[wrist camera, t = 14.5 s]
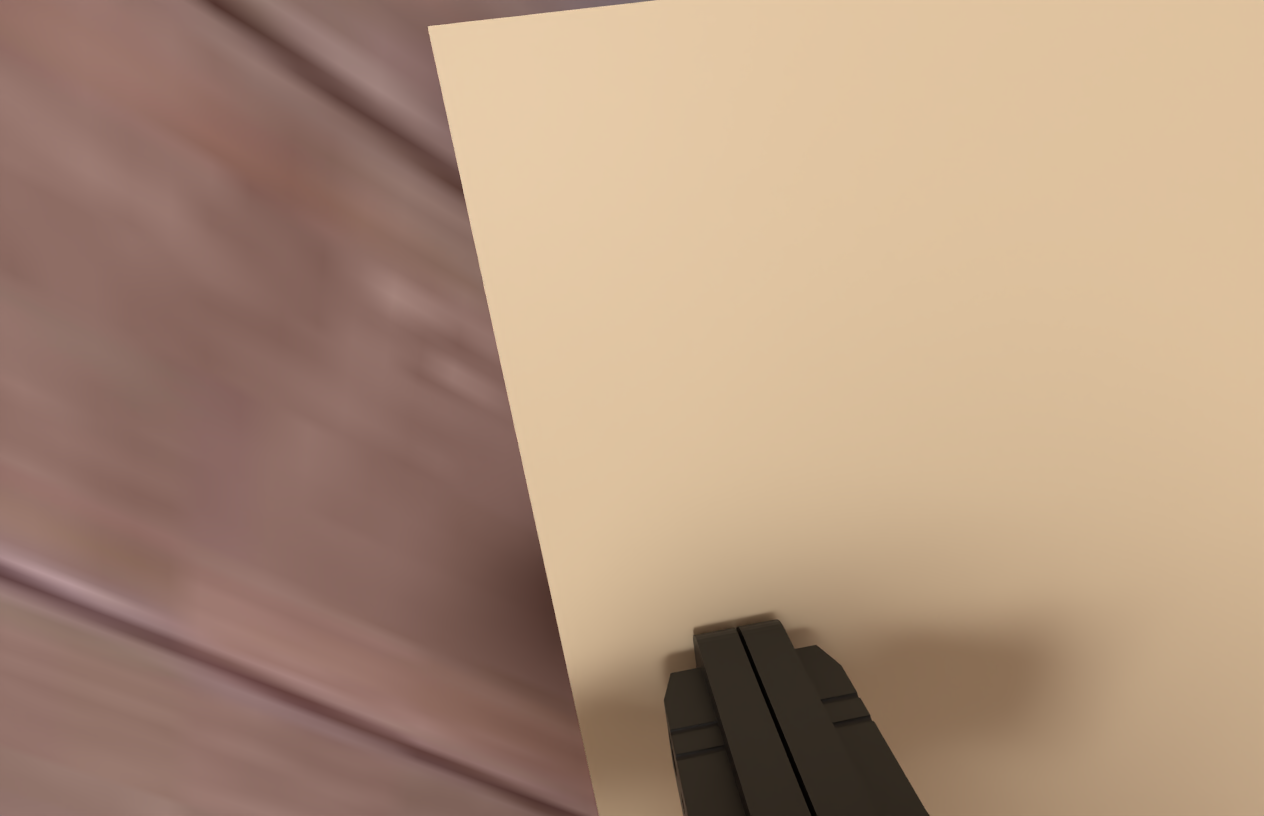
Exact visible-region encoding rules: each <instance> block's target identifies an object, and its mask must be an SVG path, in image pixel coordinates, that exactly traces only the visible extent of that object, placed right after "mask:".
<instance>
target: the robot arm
mask: <svg viewBox="0 0 1264 816" xmlns="http://www.w3.org/2000/svg"><path fill="white" fill-rule="evenodd" d="M693 643H694V652H695V661H696V668H694V669H689V670H684V671H679V672H674V673H671V674H670V678H669V682H668V686H667V689H666V693H665V697H664V706H665V713H666V720H667V727H668V734H669V741H670V748H671V755H672V762H673V768H674V773H675V778H676V782H677V787H678V792H679V797H680V802H681V807H682V812H683V816H930V815H929V814H928V812H927V811H926V809H925V808H924V806H923V804H922V802H921V801H920V799H919V797H918V796H917V794H916V792H915V790H914V789H913V787H912V785H911V784H910V782H909V780H908V778H907V777H906V775H905V773H904V772H903V770H902V768H901V766H900V765H899V763H898V761H897V760H896V758H895V756H894V754H893V753H892V751H891V749H890V748H889V746H888V744H887V742H886V741H885V739H884V737H883V736H882V734H881V732H880V730H879V729H878V727H877V725H876V724H875V722H874V721H872V719H871V716H870V713H869V712H868V710H867V708H866V707H865V705H864V703H863V701H862V700H861V698H859V697H858V694H857V691H856V689H855V688H854V686H853V684H852V683H851V681H850V679H849V677H848V676H847V674H846V672H845V671H844V669H843V667H842V665H840V664H839V663H838V662H837V661H836V660H834V659H833V658H832V657H831V656H829V655H828V654H827V653H826V652H825V651H823V650H822V649H821V648H820V647H818V646H817V645H812V646H807V647H802V648H796V649H795V648H794V646H793V644H792V642H791V640H790V638H789V636H788V634H787V632H786V630H785V629H784V627H783V625H782V623H781V622H780V621H779V620H778V619H775V620H770V621H764V622H759V623H754V624H749V625H743V626H738V627H737V628H736V629H735V628H729V629H723V630H718V631H713V632H708V633H702V634H697V635H693Z"/></svg>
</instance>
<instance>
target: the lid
mask: <svg viewBox="0 0 1264 816" xmlns="http://www.w3.org/2000/svg"><path fill="white" fill-rule="evenodd" d="M428 30H429V35H430V40H431V44H432V49H433V53H434V58H435V63H436V67H437V72H438V76H439V81H440V86H441V90H442V95H443V99H444V104H445V109H446V113H447V118H448V122H449V127H450V132H451V136H452V141H453V146H454V150H455V155H456V159H457V164H458V169H459V173H460V178H461V182H462V187H463V192H464V196H465V201H466V205H467V210H468V215H469V219H470V224H471V228H472V233H473V238H474V242H475V247H476V251H477V256H478V261H479V265H480V270H481V275H482V279H483V284H484V288H485V293H486V298H487V302H488V307H489V311H490V316H491V321H492V325H493V330H494V334H495V339H496V344H497V348H498V353H499V357H500V362H501V367H502V371H503V376H504V380H505V385H506V390H507V394H508V399H509V404H510V408H511V413H512V417H513V422H514V427H515V431H516V436H517V440H518V445H519V450H520V454H521V459H522V463H523V468H524V473H525V477H526V482H527V486H528V491H529V496H530V500H531V505H532V509H533V514H534V519H535V523H536V528H537V533H538V537H539V542H540V546H541V551H542V556H543V560H544V565H545V569H546V574H547V579H548V583H549V588H550V592H551V597H552V602H553V606H554V611H555V615H556V620H557V625H558V629H559V634H560V638H561V643H562V648H563V652H564V657H565V662H566V666H567V671H568V675H569V680H570V685H571V689H572V694H573V698H574V703H575V708H576V712H577V717H578V721H579V726H580V731H581V735H582V740H583V744H584V749H585V754H586V758H587V763H588V767H589V772H590V777H591V781H592V786H593V791H594V795H595V800H596V804H597V809H598V814H599V816H683V812H682V807H681V802H680V797H679V792H678V787H677V782H676V778H675V773H674V768H673V762H672V755H671V748H670V741H669V734H668V727H667V720H666V713H665V706H664V697H665V693H666V689H667V686H668V682H669V678H670V674H671V673H674V672H679V671H684V670H689V669H694V668H696V661H695V652H694V643H693V635H697V634H702V633H708V632H713V631H718V630H723V629H729V628H735V629H736V628H737V627H738V626H743V625H749V624H754V623H759V622H764V621H770V620H775V619H778V620H779V621H780V622H781V623H782V625H783V627H784V629H785V630H786V632H787V634H788V636H789V638H790V640H791V642H792V644H793V646H794V648H795V649H796V648H802V647H807V646H812V645H817V646H818V647H820V648H821V649H822V650H823V651H825V652H826V653H827V654H828V655H829V656H831V657H832V658H833V659H834V660H836V661H837V662H838V663H839V664H840V665H842V667H843V669H844V671H845V672H846V674H847V676H848V677H849V679H850V681H851V683H852V684H853V686H854V688H855V689H856V691H857V694H858V697H859V698H861V700H862V701H863V703H864V705H865V707H866V708H867V710H868V712H869V713H870V716H871V719H872V721H874V722H875V724H876V725H877V727H878V729H879V730H880V732H881V734H882V736H883V737H884V739H885V741H886V742H887V744H888V746H889V748H890V749H891V751H892V753H893V754H894V756H895V758H896V760H897V761H898V763H899V765H900V766H901V768H902V770H903V772H904V773H905V775H906V777H907V778H908V780H909V782H910V784H911V785H912V787H913V789H914V790H915V792H916V794H917V796H918V797H919V799H920V801H921V802H922V804H923V806H924V808H925V809H926V811H927V812H928V814H929V815H930V816H1264V0H656V1H647V2H638V3H629V4H621V5H612V6H603V7H594V8H585V9H577V10H568V11H559V12H550V13H541V14H533V15H524V16H515V17H506V18H497V19H489V20H480V21H471V22H462V23H453V24H445V25H436V26H428Z"/></svg>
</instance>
